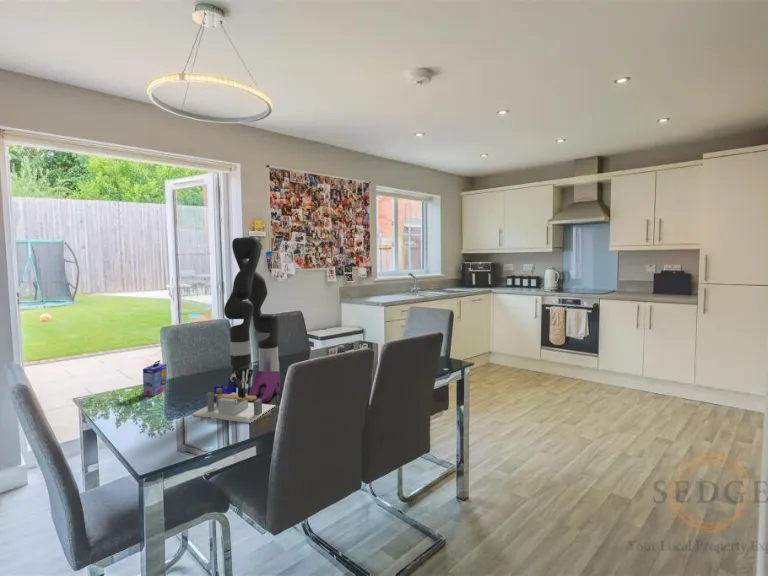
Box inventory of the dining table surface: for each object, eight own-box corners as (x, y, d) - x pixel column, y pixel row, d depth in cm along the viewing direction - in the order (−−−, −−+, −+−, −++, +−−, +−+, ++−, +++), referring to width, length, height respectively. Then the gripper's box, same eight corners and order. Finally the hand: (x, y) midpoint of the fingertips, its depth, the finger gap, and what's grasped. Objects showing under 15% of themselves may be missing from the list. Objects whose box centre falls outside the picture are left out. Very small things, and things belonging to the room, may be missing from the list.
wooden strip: (210, 398, 166) (210, 395, 166) (216, 395, 169) (216, 392, 169) (251, 401, 161) (251, 398, 161) (256, 398, 164) (256, 395, 164)
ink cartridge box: (154, 396, 185) (153, 363, 184) (142, 396, 186) (141, 363, 185) (168, 389, 195) (166, 358, 194) (156, 389, 196) (155, 358, 195)
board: (221, 401, 179) (220, 382, 178) (275, 407, 171) (275, 387, 171) (192, 415, 163) (191, 395, 162) (250, 423, 155) (250, 401, 155)
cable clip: (227, 393, 188) (227, 380, 188) (236, 394, 187) (236, 380, 188) (210, 400, 177) (211, 386, 177) (220, 401, 176) (220, 386, 176)
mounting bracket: (271, 415, 179) (281, 385, 194) (268, 400, 175) (279, 371, 190) (249, 414, 179) (261, 385, 195) (245, 400, 175) (258, 371, 190)
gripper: (242, 348, 170) (244, 391, 171) (220, 355, 157) (222, 401, 158) (259, 349, 167) (260, 392, 168) (238, 356, 155) (239, 403, 156)
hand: (241, 396), depth 163 cm, fingers closed
